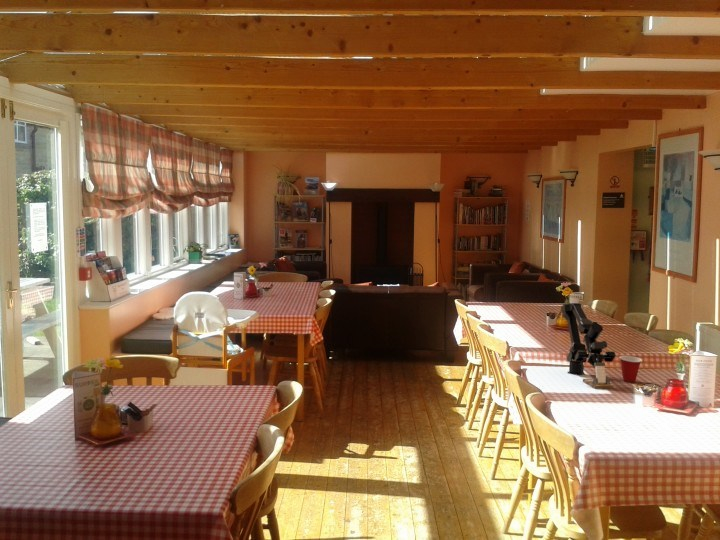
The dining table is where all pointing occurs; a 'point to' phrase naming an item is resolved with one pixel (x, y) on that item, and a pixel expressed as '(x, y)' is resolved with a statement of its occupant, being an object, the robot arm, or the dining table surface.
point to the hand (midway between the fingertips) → (599, 370)
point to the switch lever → (600, 372)
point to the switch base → (597, 385)
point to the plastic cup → (630, 367)
